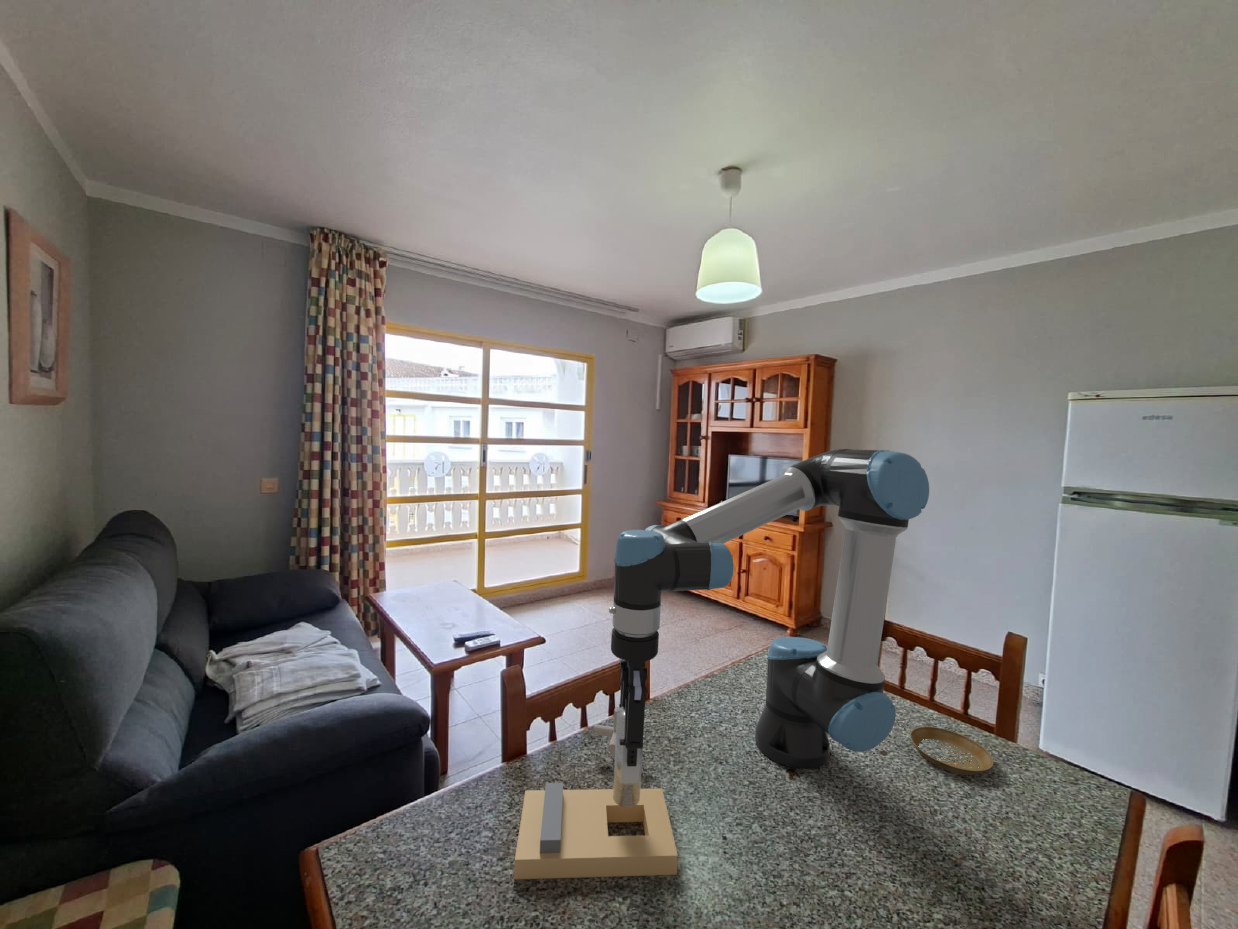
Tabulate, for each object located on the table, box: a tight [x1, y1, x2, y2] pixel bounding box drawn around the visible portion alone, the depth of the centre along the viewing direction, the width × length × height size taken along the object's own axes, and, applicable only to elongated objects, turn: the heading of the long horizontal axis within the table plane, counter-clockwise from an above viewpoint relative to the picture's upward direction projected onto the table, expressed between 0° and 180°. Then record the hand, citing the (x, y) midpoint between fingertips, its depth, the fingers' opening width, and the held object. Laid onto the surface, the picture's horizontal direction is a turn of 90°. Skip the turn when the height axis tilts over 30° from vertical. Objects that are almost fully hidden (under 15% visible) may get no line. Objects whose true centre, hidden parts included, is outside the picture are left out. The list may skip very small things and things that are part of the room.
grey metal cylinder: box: [612, 706, 645, 807], centre depth 79 cm, size 4×4×14 cm
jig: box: [513, 782, 679, 880], centre depth 79 cm, size 24×14×5 cm, turn 95°
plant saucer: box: [909, 725, 995, 776], centre depth 104 cm, size 15×15×3 cm
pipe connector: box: [592, 706, 620, 761], centre depth 99 cm, size 10×10×10 cm
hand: (628, 770), depth 79 cm, fingers closed on grey metal cylinder, 4 cm apart
